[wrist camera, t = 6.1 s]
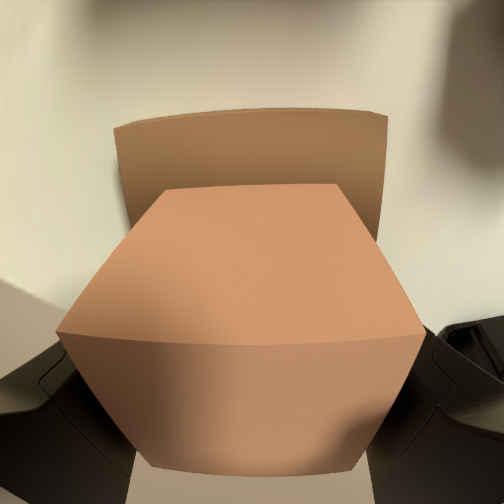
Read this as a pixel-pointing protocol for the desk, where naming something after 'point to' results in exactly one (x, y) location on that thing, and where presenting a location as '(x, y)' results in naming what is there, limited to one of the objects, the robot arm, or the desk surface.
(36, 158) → the desk surface
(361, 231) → the terracotta cube
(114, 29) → the desk surface
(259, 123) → the walnut slab
